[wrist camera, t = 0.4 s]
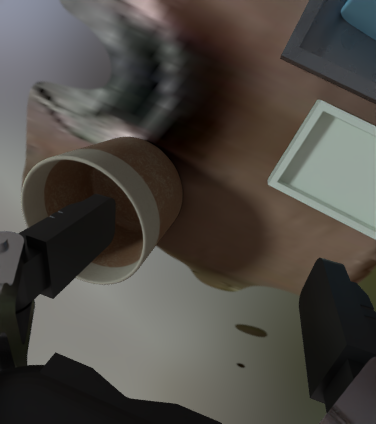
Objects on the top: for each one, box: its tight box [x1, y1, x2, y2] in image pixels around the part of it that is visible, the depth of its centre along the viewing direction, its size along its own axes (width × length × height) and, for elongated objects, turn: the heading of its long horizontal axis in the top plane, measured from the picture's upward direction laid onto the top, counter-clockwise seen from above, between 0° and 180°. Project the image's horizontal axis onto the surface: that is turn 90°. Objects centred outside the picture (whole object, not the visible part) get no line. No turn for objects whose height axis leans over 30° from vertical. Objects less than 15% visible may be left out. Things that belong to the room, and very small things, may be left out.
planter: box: [21, 137, 183, 285], centre depth 35 cm, size 16×16×14 cm
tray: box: [268, 100, 376, 240], centre depth 30 cm, size 11×17×2 cm, turn 66°
